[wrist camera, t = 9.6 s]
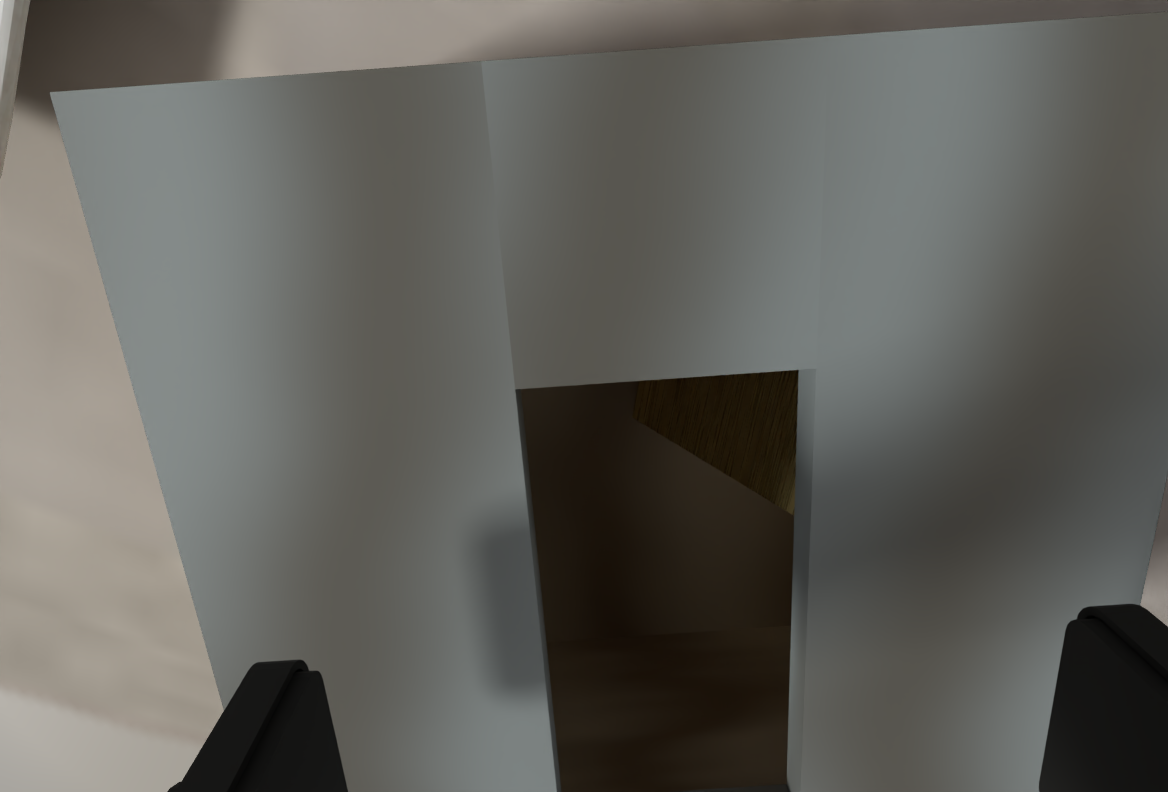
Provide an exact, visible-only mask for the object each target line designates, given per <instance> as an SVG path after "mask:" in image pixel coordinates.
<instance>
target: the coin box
mask: <svg viewBox="0 0 1168 792" xmlns="http://www.w3.org/2000/svg"><path fill="white" fill-rule="evenodd" d="M50 96H51V100H52V103H53V107H54V110H55V114H56V117H57V121H58V124H59V128H60V131H61V135H62V139H63V142H64V146H65V149H66V153H67V156H68V160H69V163H70V167H71V170H72V174H73V177H74V181H75V185H76V188H77V192H78V195H79V199H80V202H81V206H82V209H83V213H84V216H85V220H86V224H87V227H88V231H89V234H90V238H91V241H92V245H93V248H94V252H95V255H96V259H97V262H98V266H99V270H100V273H101V277H102V280H103V284H104V287H105V291H106V294H107V298H108V301H109V305H110V309H111V312H112V316H113V319H114V323H115V326H116V330H117V333H118V337H119V340H120V344H121V347H122V351H123V355H124V358H125V362H126V365H127V369H128V372H129V376H130V379H131V383H132V386H133V390H134V394H135V397H136V401H137V404H138V408H139V411H140V415H141V418H142V422H143V425H144V429H145V433H146V436H147V440H148V443H149V447H150V450H151V454H152V457H153V461H154V464H155V468H156V471H157V475H158V479H159V482H160V486H161V489H162V493H163V496H164V500H165V503H166V507H167V510H168V514H169V518H170V521H171V525H172V528H173V532H174V535H175V539H176V542H177V546H178V549H179V553H180V556H181V560H182V564H183V567H184V571H185V574H186V578H187V581H188V585H189V588H190V592H191V595H192V599H193V603H194V606H195V610H196V613H197V617H198V620H199V624H200V627H201V631H202V634H203V638H204V641H205V645H206V649H207V652H208V656H209V659H210V663H211V666H212V670H213V673H214V677H215V680H216V684H217V688H218V691H219V695H220V698H221V702H222V705H223V709H224V710H225V708H226V707H227V705H228V703H229V702H230V700H231V698H232V697H233V695H234V693H235V692H236V690H237V688H238V687H239V685H240V683H241V682H242V680H243V678H244V677H245V675H246V673H247V672H248V670H249V669H250V668H251V666H252V665H253V664H255V663H257V662H269V661H284V660H299V659H300V660H303V661H304V662H305V663H306V664H307V666H308V669H309V671H315V670H316V671H319V672H320V673H321V675H322V678H323V681H324V686H325V690H326V695H327V699H328V704H329V708H330V713H331V717H332V722H333V726H334V731H335V735H336V739H337V744H338V748H339V753H340V757H341V762H342V766H343V771H344V775H345V780H346V784H347V789H348V792H1039V780H1040V774H1041V768H1042V762H1043V757H1044V751H1045V745H1046V739H1047V734H1048V728H1049V722H1050V716H1051V711H1052V705H1053V699H1054V693H1055V688H1056V682H1057V676H1058V670H1059V665H1060V659H1061V653H1062V647H1063V642H1064V636H1065V630H1066V627H1067V624H1068V623H1069V622H1070V621H1072V620H1076V619H1077V616H1078V613H1079V612H1080V611H1081V610H1082V609H1083V608H1086V607H1089V606H1103V605H1118V604H1136V605H1140V603H1141V598H1142V594H1143V589H1144V584H1145V579H1146V575H1147V570H1148V565H1149V560H1150V556H1151V551H1152V546H1153V541H1154V537H1155V532H1156V527H1157V522H1158V518H1159V513H1160V508H1161V503H1162V499H1163V494H1164V489H1165V484H1166V480H1167V475H1168V12H1155V13H1142V14H1128V15H1114V16H1100V17H1086V18H1072V19H1058V20H1045V21H1031V22H1017V23H1003V24H989V25H975V26H961V27H948V28H934V29H920V30H906V31H892V32H878V33H864V34H851V35H837V36H823V37H809V38H795V39H781V40H768V41H754V42H740V43H726V44H712V45H698V46H684V47H671V48H657V49H643V50H629V51H615V52H601V53H587V54H574V55H560V56H546V57H532V58H518V59H504V60H490V61H477V62H463V63H449V64H435V65H421V66H407V67H393V68H380V69H366V70H352V71H338V72H324V73H310V74H296V75H283V76H269V77H255V78H241V79H227V80H213V81H199V82H186V83H172V84H158V85H144V86H130V87H116V88H102V89H89V90H75V91H61V92H50ZM789 370H799V373H798V408H797V442H796V477H795V511H794V516H793V515H792V514H790V513H788V512H787V511H785V510H784V509H782V508H780V507H779V506H777V505H775V504H774V503H772V502H770V501H769V500H767V499H765V498H764V497H762V496H761V495H759V494H757V493H756V492H754V491H752V490H751V489H749V488H747V487H746V486H744V485H742V484H741V483H739V482H738V481H736V480H734V479H733V478H731V477H729V476H728V475H726V474H724V473H723V472H721V471H719V470H718V469H716V468H715V467H713V466H711V465H710V464H708V463H706V462H705V461H703V460H701V459H700V458H698V457H696V456H695V455H693V454H692V453H690V452H688V451H687V450H685V449H683V448H682V447H680V446H678V445H677V444H675V443H673V442H672V441H670V440H669V439H667V438H665V437H664V436H662V435H660V434H659V433H657V432H655V431H654V430H652V429H650V428H649V427H647V426H646V425H644V424H642V423H641V422H639V421H637V420H636V419H634V418H632V415H633V410H634V405H635V400H636V395H637V389H638V384H639V381H644V380H659V379H673V378H688V377H702V376H716V375H731V374H745V373H760V372H774V371H789Z"/></svg>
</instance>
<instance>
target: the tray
mask: <svg viewBox="0 0 1168 792" xmlns="http://www.w3.org/2000/svg"><path fill="white" fill-rule="evenodd" d="M29 6H30V0H0V178H1V175H2V170H3V165H4V159H5V154H6V149H7V143H8V138H9V133H10V127H11V122H12V116H13V110H14V103H15V96H16V89H17V83H18V76H19V69H20V62H21V56H22V49H23V42H24V35H25V29H26V22H27V17H28V11H29Z"/></svg>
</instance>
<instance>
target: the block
mask: <svg viewBox="0 0 1168 792" xmlns="http://www.w3.org/2000/svg"><path fill="white" fill-rule="evenodd" d="M798 373H799V370H789V371H774V372H760V373H745V374H731V375H716V376H702V377H688V378H673V379H659V380H644V381H639V384H638V389H637V395H636V400H635V405H634V410H633V415H632V418H634V419H636V420H637V421H639V422H641V423H642V424H644V425H646V426H647V427H649V428H650V429H652V430H654V431H655V432H657V433H659V434H660V435H662V436H664V437H665V438H667V439H669V440H670V441H672V442H673V443H675V444H677V445H678V446H680V447H682V448H683V449H685V450H687V451H688V452H690V453H692V454H693V455H695V456H696V457H698V458H700V459H701V460H703V461H705V462H706V463H708V464H710V465H711V466H713V467H715V468H716V469H718V470H719V471H721V472H723V473H724V474H726V475H728V476H729V477H731V478H733V479H734V480H736V481H738V482H739V483H741V484H742V485H744V486H746V487H747V488H749V489H751V490H752V491H754V492H756V493H757V494H759V495H761V496H762V497H764V498H765V499H767V500H769V501H770V502H772V503H774V504H775V505H777V506H779V507H780V508H782V509H784V510H785V511H787V512H788V513H790V514H792V515H793V516H794V511H795V477H796V442H797V408H798Z"/></svg>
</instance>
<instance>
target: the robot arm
mask: <svg viewBox="0 0 1168 792" xmlns="http://www.w3.org/2000/svg"><path fill="white" fill-rule="evenodd" d="M168 792H348V789H347V784H346V780H345V775H344V771H343V766H342V762H341V757H340V753H339V748H338V744H337V739H336V735H335V731H334V726H333V722H332V717H331V713H330V708H329V704H328V699H327V695H326V690H325V686H324V681H323V678H322V675H321V673H320V672H319V671H316V670H315V671H309V669H308V666H307V664H306V663H305V662H304V661H303V660H300V659H299V660H284V661H269V662H257V663H255V664H253V665H252V666H251V668H250V669H249V670H248V672H247V673H246V675H245V677H244V678H243V680H242V682H241V683H240V685H239V687H238V688H237V690H236V692H235V693H234V695H233V697H232V698H231V700H230V702H229V703H228V705H227V707H226V708H225V710H224V712H223V713H222V715H221V717H220V718H219V720H218V722H217V723H216V725H215V727H214V728H213V730H212V732H211V733H210V735H209V737H208V738H207V740H206V742H205V743H204V745H203V747H202V748H201V750H200V752H199V754H198V755H197V757H196V758H195V760H194V762H193V764H192V765H191V767H190V768H189V770H188V772H187V774H186V775H185V777H184V778H183V780H182V782H179V783H177V784H176V785H174V786H173V787H171V788H170V789H169V790H168ZM1039 792H1168V627H1167V626H1166V625H1165V624H1164V623H1162V622H1161V621H1160V620H1159V619H1158V618H1156V617H1155V616H1154V615H1153V614H1152V613H1150V612H1149V611H1148V610H1146V609H1145V608H1143V607H1142V606H1140V605H1136V604H1118V605H1103V606H1089V607H1086V608H1083V609H1082V610H1081V611H1080V612H1079V613H1078V616H1077V619H1076V620H1072V621H1070V622H1069V623H1068V624H1067V627H1066V630H1065V636H1064V642H1063V647H1062V653H1061V659H1060V665H1059V670H1058V676H1057V682H1056V688H1055V693H1054V699H1053V705H1052V711H1051V716H1050V722H1049V728H1048V734H1047V739H1046V745H1045V751H1044V757H1043V762H1042V768H1041V774H1040V780H1039Z"/></svg>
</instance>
